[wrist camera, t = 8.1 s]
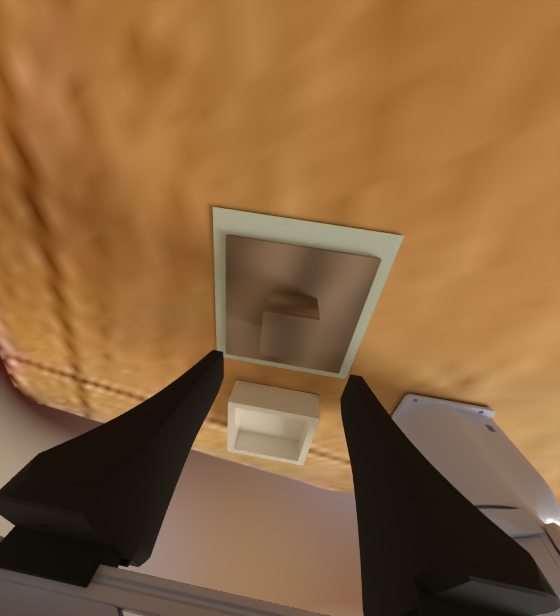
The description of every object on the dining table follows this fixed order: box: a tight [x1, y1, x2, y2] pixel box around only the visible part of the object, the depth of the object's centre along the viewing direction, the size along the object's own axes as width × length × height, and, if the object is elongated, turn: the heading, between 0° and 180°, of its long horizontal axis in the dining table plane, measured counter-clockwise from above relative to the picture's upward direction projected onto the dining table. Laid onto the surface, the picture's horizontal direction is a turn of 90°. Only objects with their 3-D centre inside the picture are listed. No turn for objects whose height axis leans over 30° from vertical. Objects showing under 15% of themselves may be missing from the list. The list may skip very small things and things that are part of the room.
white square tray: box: [227, 380, 320, 466], centre depth 25 cm, size 10×10×3 cm
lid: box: [226, 234, 382, 374], centre depth 17 cm, size 12×12×4 cm
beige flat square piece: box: [213, 207, 404, 379], centre depth 19 cm, size 14×15×1 cm
